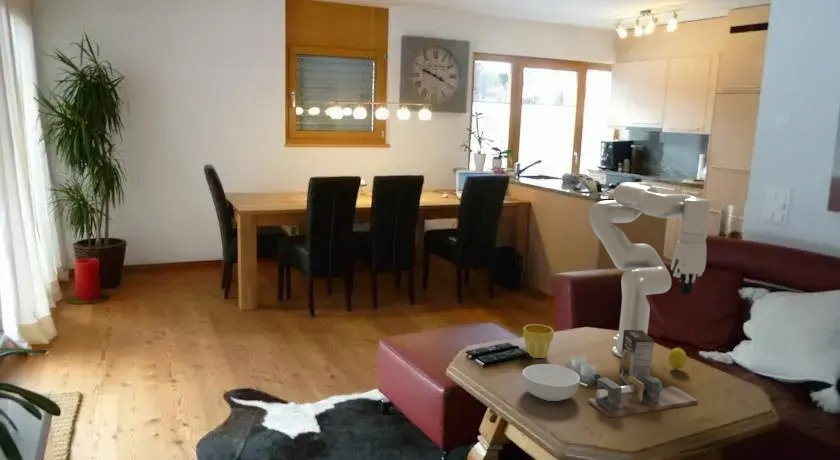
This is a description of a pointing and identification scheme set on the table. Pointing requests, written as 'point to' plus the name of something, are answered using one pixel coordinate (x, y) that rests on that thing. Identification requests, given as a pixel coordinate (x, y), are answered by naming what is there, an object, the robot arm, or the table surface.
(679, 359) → the lemon
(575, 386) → the cereal bowl
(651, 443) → the table surface
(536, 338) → the plant pot
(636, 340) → the coffee box
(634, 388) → the shaft
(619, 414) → the shaft frame
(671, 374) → the table surface
